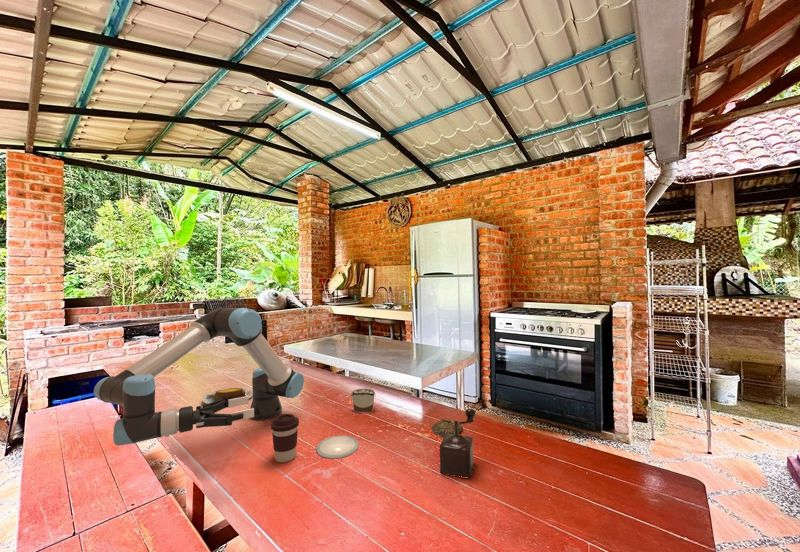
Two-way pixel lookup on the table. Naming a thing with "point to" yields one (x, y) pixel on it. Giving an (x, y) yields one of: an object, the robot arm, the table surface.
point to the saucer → (337, 447)
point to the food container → (363, 400)
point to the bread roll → (445, 427)
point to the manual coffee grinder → (458, 451)
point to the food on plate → (227, 394)
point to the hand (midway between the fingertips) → (251, 405)
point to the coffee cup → (285, 437)
